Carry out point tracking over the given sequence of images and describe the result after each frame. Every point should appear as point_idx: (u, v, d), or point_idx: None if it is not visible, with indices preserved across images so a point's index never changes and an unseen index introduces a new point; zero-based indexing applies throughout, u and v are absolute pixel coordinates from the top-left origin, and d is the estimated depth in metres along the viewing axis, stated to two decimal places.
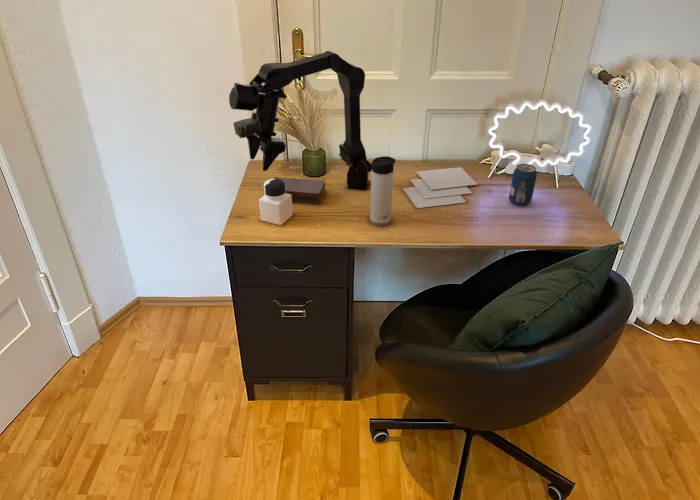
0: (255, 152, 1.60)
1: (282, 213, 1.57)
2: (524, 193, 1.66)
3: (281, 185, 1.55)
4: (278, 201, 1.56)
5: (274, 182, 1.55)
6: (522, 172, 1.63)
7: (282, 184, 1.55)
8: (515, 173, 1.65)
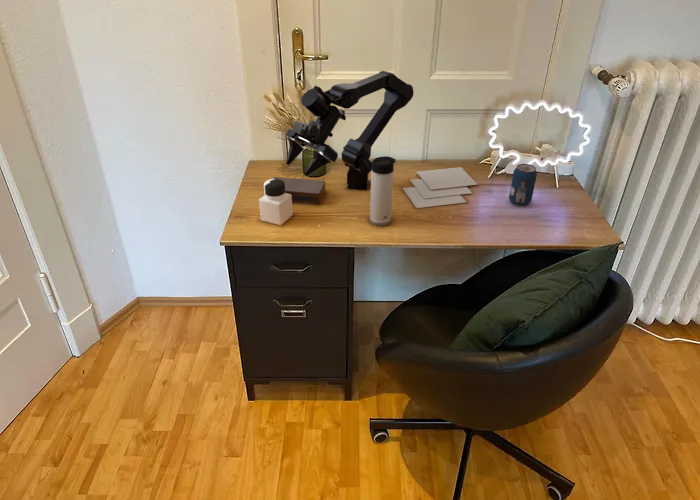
0: (292, 159, 1.63)
1: (282, 213, 1.57)
2: (524, 193, 1.66)
3: (281, 185, 1.55)
4: (278, 201, 1.56)
5: (274, 182, 1.55)
6: (522, 172, 1.63)
7: (282, 184, 1.55)
8: (515, 173, 1.65)
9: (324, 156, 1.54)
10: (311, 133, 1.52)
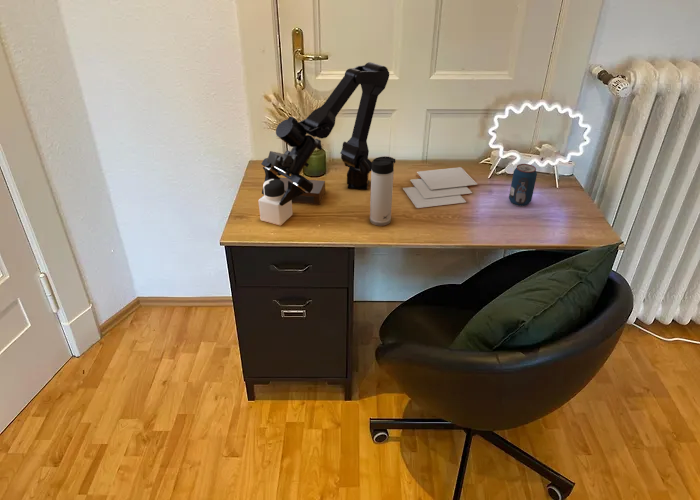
0: None
1: (281, 213, 1.57)
2: (524, 193, 1.66)
3: (280, 185, 1.54)
4: (277, 201, 1.56)
5: (273, 183, 1.55)
6: (522, 172, 1.63)
7: (281, 184, 1.55)
8: (515, 173, 1.65)
9: (299, 187, 1.52)
10: (286, 164, 1.50)
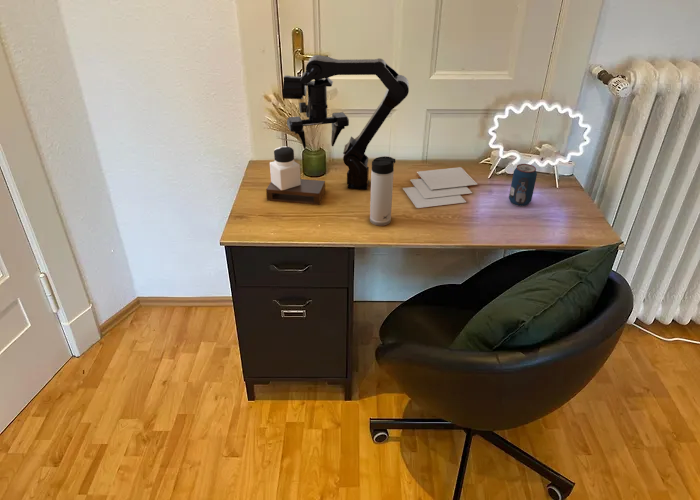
0: (332, 140, 1.74)
1: (284, 179, 1.67)
2: (524, 193, 1.66)
3: (287, 153, 1.64)
4: (282, 167, 1.66)
5: (282, 149, 1.65)
6: (522, 172, 1.63)
7: (288, 152, 1.64)
8: (515, 173, 1.65)
9: None
10: (300, 111, 1.72)
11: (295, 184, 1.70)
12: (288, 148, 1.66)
